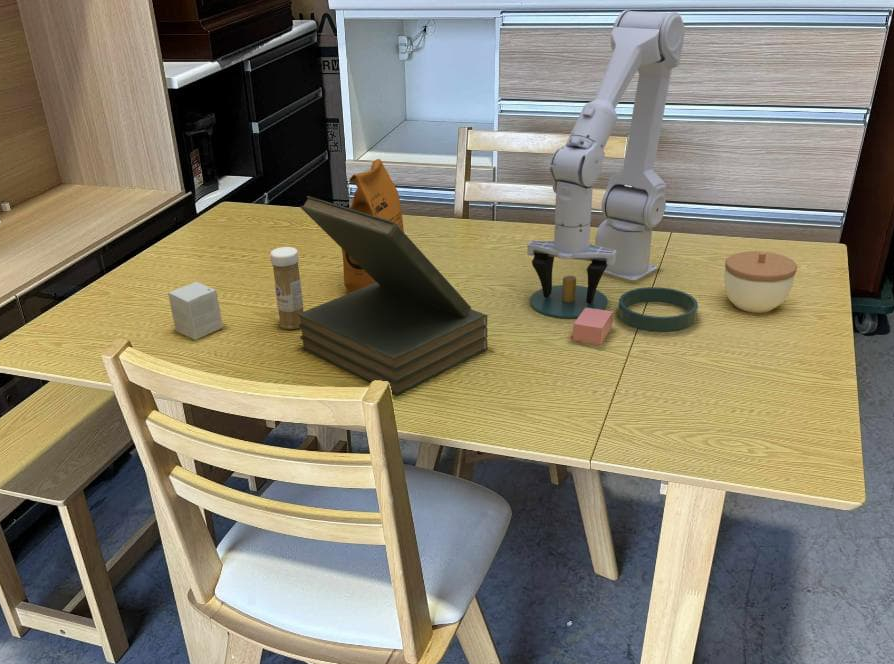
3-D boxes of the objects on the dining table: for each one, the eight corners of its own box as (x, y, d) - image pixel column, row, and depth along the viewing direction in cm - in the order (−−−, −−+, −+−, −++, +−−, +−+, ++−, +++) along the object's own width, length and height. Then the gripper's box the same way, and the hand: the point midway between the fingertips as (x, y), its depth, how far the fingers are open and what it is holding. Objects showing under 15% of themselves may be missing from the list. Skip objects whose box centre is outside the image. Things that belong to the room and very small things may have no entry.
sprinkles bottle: (274, 326, 150) (264, 252, 143) (292, 316, 152) (283, 243, 146) (293, 332, 147) (283, 257, 140) (311, 323, 150) (303, 249, 143)
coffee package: (336, 293, 160) (324, 175, 149) (367, 269, 169) (358, 155, 158) (384, 300, 156) (376, 179, 145) (413, 275, 165) (408, 159, 154)
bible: (487, 350, 137) (487, 194, 124) (396, 396, 126) (386, 231, 114) (390, 310, 152) (381, 168, 139) (301, 348, 142) (283, 198, 129)
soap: (572, 343, 137) (573, 323, 135) (584, 326, 142) (585, 307, 140) (600, 347, 135) (602, 328, 134) (611, 330, 140) (613, 311, 138)
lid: (514, 307, 150) (514, 280, 147) (561, 284, 157) (562, 258, 154) (575, 329, 141) (577, 300, 139) (622, 303, 148) (625, 275, 146)
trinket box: (794, 321, 139) (805, 266, 134) (723, 319, 141) (732, 265, 136) (782, 294, 148) (792, 241, 143) (715, 293, 150) (723, 241, 145)
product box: (204, 319, 154) (197, 280, 150) (224, 328, 150) (217, 289, 146) (174, 331, 150) (166, 292, 147) (194, 341, 147) (186, 301, 143)
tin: (602, 320, 143) (604, 304, 142) (645, 297, 150) (646, 281, 149) (668, 342, 135) (670, 325, 134) (709, 316, 142) (712, 299, 141)
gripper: (521, 224, 142) (520, 301, 149) (610, 234, 135) (604, 313, 142) (536, 211, 147) (533, 285, 154) (622, 219, 141) (615, 297, 148)
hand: (568, 298), depth 148 cm, fingers open, 7 cm apart
